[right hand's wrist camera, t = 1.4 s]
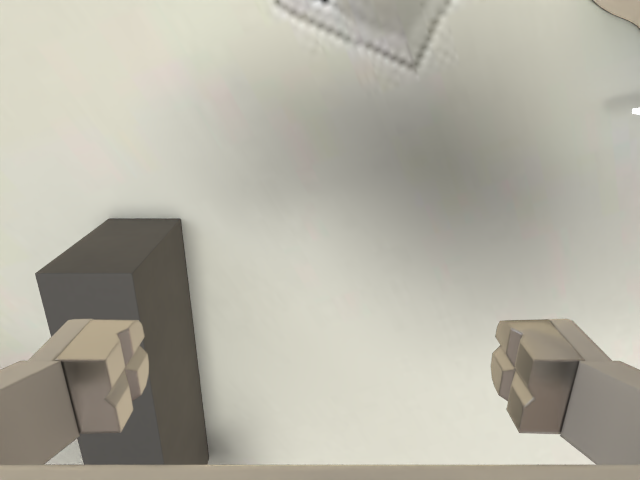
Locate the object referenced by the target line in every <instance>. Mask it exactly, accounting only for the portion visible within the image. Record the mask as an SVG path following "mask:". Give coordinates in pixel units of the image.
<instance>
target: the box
mask: <svg viewBox="0 0 640 480" xmlns="http://www.w3.org/2000/svg"><path fill="white" fill-rule="evenodd" d="M35 275H36V279H37V283H38V287H39V291H40V295H41V299H42V302H43V306H44V310H45V314H46V318H47V322H48V326H49V330H50V334H51V337H52V336H53V335H54V334H55V333H56V332H57V331H58V330H59V329H60V328H61V327H62V326H63V325H64V324H65V323H66V322H67V321H68V320H72V319H114V320H139V321H140V322H141V324H142V326H143V331H144V336H145V337H144V339H143V340H142V342H141V343H140V346H141V347H142V348H143V349H144V350H145V351H146V352H147V353H148V360H149V375H148V379H147V384H146V387H145V389H144V391H143V393H142V395H141V396H139V397H138V398H136V399H135V400H133V401H132V405H133V411H132V413H131V415H130V417H129V419H128V421H127V422H126V424H125V426H124V428H123V430H122V432H121V433H100V434H79V435H80V436H79V437H78V438H77V439H78V443H79V446H80V450H81V454H82V458H83V462H84V465H207V463H208V460H209V455H208V447H207V438H206V430H205V421H204V413H203V405H202V396H201V388H200V379H199V371H198V362H197V354H196V346H195V337H194V329H193V320H192V312H191V304H190V295H189V287H188V278H187V270H186V261H185V253H184V245H183V236H182V228H181V220H180V219H108V220H107V221H105V222H104V223H102V224H101V225H100V226H98V227H97V228H96V229H94V230H93V231H92V232H90V233H89V234H88V235H86V236H85V237H84V238H82V239H81V240H80V241H78V242H77V243H76V244H74V245H73V246H72V247H70V248H69V249H67V250H66V251H65V252H63V253H62V254H61V255H59V256H58V257H57V258H55V259H54V260H53V261H51V262H50V263H49V264H47V265H46V266H45V267H43V268H42V269H41V270H39V271H38V272H37V273H35Z"/></svg>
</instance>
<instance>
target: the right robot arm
mask: <svg viewBox="0 0 640 480" xmlns="http://www.w3.org/2000/svg"><path fill="white" fill-rule="evenodd" d="M593 1H594V2H595V3H596V4H598V5H599V6H600V7H602V8H603V9H605V10H606V11H608V12H610V13H612V14H614V15H616V16H618V17H621V18H623V19H626V20H628V21H630V22H632V23H634V24H635V25H637V26H638V27H639V28H640V0H593ZM632 113H634V114H640V108H636V109H633V110H632ZM144 337H145V336H144V331H143V326H142V324H141V322H140V321H139V320H114V319H72V320H68V321H67V322H66V323H65V324H64V325H63V326H62V327H61V328H60V329H59V330H58V331H57V332H56V333H55V334H54V335H53V336H52V337H51V338H50V339H49V340H48V341H47V342H46V343H45V344H44V345H43V346H42V347H41V348H40V349H39V350H38V351H37V352H36V353H35V354H34V355H33V356H32V357H31V358H30V359H29V360H28V361H19V362H17V363H15V364H12V365H10V366H8V367H6V368H3V369H1V370H0V480H640V370H639V369H637V368H634V367H632V366H630V365H628V364H625V363H623V362H621V361H612V360H611V359H610V358H609V357H608V356H607V355H606V354H605V353H604V352H603V351H602V350H601V349H600V348H599V347H598V346H597V345H596V344H595V343H594V342H593V341H592V340H591V339H590V338H589V337H588V336H587V335H586V334H585V333H584V332H583V331H582V330H581V329H580V328H579V327H578V326H577V325H576V324H575V323H574V322H573V321H572V320H569V319H545V320H505V321H500V322H499V324H498V326H497V330H496V335H495V337H496V339H497V340H498V342H499V343H500V346H499V347H498V348H497V349H496V350H495V351H494V352H493V353H492V361H491V374H492V380H493V384H494V387H495V389H496V391H497V393H498V395H499V396H501V397H502V398H504V399H505V400H507V401H508V405H507V411H508V413H509V415H510V417H511V419H512V421H513V422H514V424H515V426H516V428H517V430H518V431H519V433H539V434H561V435H560V436H561V437H562V438H564V439H565V440H566V441H567V442H569V443H570V444H571V445H572V446H574V447H575V448H576V449H577V450H579V451H580V452H581V453H583V454H584V455H585V456H586V457H588V458H589V459H590V460H591V461H593V462H594V463H595V464H596V465H44V464H45V463H46V462H47V461H49V460H50V459H51V458H53V457H54V456H55V455H56V454H58V453H59V452H60V451H61V450H63V449H64V448H65V447H66V446H68V445H69V444H70V443H72V442H73V441H74V440H75V439H77V438H78V437H79V436H80V435H79V434H100V433H121V432H122V430H123V428H124V426H125V424H126V422H127V421H128V419H129V417H130V415H131V413H132V411H133V405H132V401H133V400H135V399H136V398H138V397H139V396H141V395H142V393H143V391H144V389H145V387H146V384H147V379H148V375H149V360H148V353H147V352H146V351H145V350H144V349H143V348H142V347H141V346H140V343H141V342H142V340H143V339H144Z"/></svg>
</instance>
